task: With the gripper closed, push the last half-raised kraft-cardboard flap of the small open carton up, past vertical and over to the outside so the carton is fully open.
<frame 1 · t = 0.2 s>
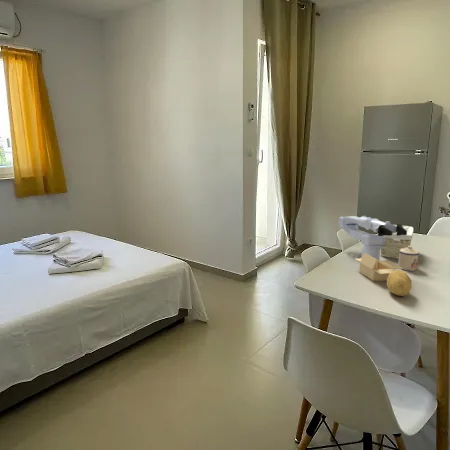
hand: (398, 233, 171), 21 cm above the table, tool horizontal, fingers open, 7 cm apart
teacup with lid: (407, 267, 188), on the table
flap: (368, 260, 173), point 8 cm above the table, hinge at 69.8°
carton: (375, 275, 175), on the table
storage basket: (394, 253, 212), on the table
potato: (397, 294, 154), on the table
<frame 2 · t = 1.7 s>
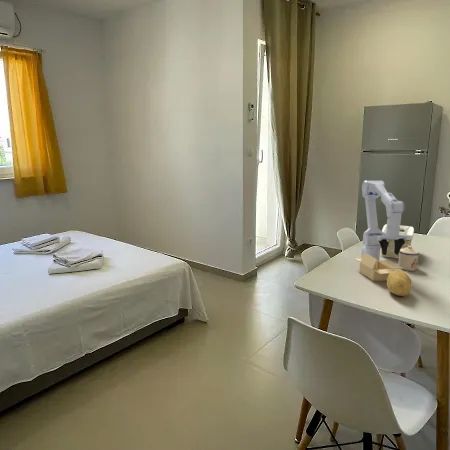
hand: (390, 254, 174), 10 cm above the table, tool pointing down, fingers open, 6 cm apart
nothing on the table moved.
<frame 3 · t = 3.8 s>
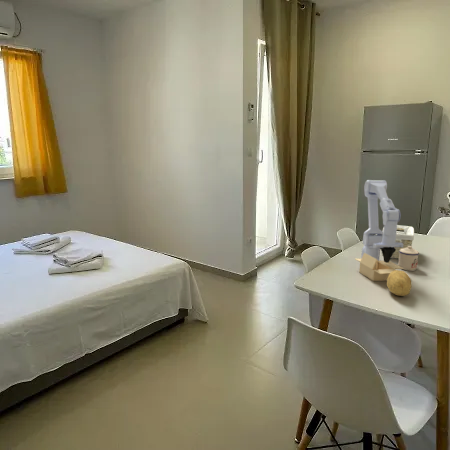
hand: (386, 262, 175), 7 cm above the table, tool pointing down, fingers closed
nothing on the table moved.
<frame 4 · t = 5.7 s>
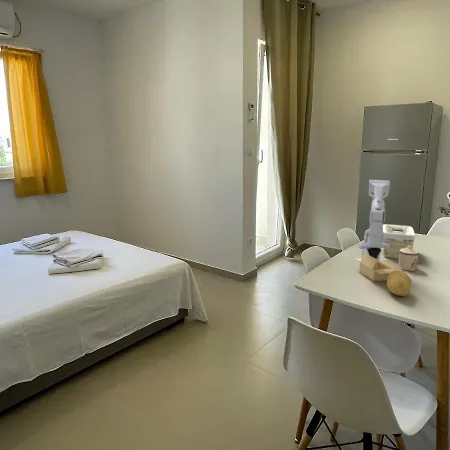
hand: (372, 262, 174), 7 cm above the table, tool pointing down, fingers closed
flap: (368, 260, 173), point 8 cm above the table, hinge at 70.4°, touching gripper
everything else where it was.
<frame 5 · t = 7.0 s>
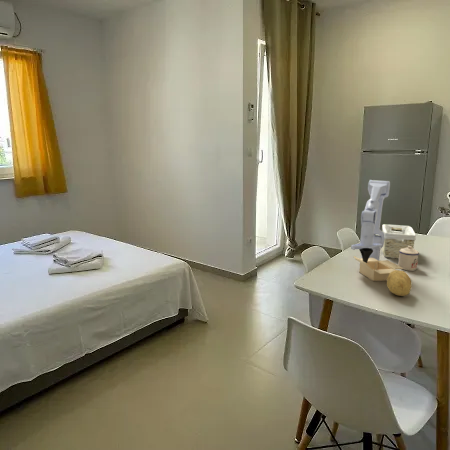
hand: (364, 263, 173), 7 cm above the table, tool pointing down, fingers closed, pressing on flap
flap: (362, 262, 172), point 7 cm above the table, hinge at 140.8°, touching gripper
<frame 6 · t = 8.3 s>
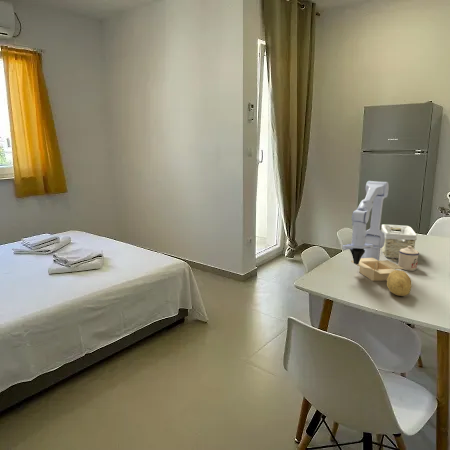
hand: (356, 263, 172), 7 cm above the table, tool pointing down, fingers closed
flap: (361, 265, 172), point 6 cm above the table, hinge at 170.2°, touching gripper
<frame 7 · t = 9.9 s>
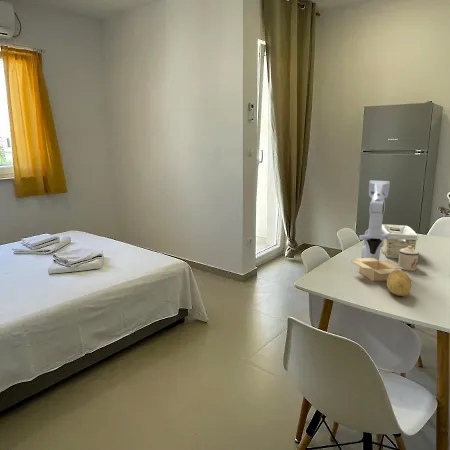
hand: (372, 253, 176), 10 cm above the table, tool pointing down, fingers closed
flap: (361, 265, 172), point 6 cm above the table, hinge at 170.3°
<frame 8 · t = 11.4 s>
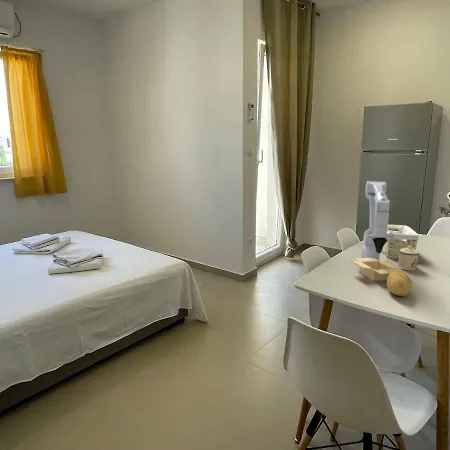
hand: (378, 252, 177), 10 cm above the table, tool pointing down, fingers closed
at the end: flap at +170° (first picture: +70°); the gripper is holding nothing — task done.
